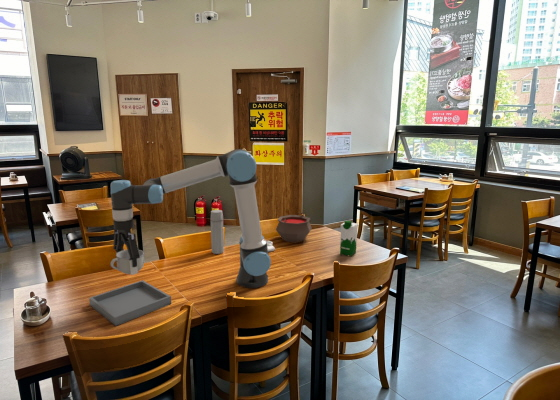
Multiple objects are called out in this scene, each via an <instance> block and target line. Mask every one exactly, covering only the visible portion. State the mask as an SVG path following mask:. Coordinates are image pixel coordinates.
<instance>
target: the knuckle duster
mask: <svg viewBox="0 0 560 400" xmlns="http://www.w3.org/2000/svg"><path fill="white" fill-rule="evenodd" d="M266 242H267V248H268V253H269V252H274V251H275V250H276V248H275V246H273V241H271V240H266Z"/></svg>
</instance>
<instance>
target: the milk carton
mask: <svg viewBox="0 0 560 400" xmlns="http://www.w3.org/2000/svg"><path fill="white" fill-rule="evenodd" d="M358 226H359V224H358V223H357V222H356V223H355V222H352V220H344V222H343V223H341V224H340V245H339V249H340V250H339V252H340V253H339V254H340V255H342V254H343V256H347V255H349V256H348V257H352V256H354V255H355V254H356V253H357V243H358V242H357V241H358V240H357V239H358V238H357V237H358ZM354 253H355V254H354ZM353 254H354V255H353Z"/></svg>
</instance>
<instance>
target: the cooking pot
mask: <svg viewBox="0 0 560 400" xmlns="http://www.w3.org/2000/svg"><path fill="white" fill-rule="evenodd" d="M310 220H311V217H308V216H306V215H305V213H304V212H303V211H302V212H301V213H300V215H299V214H298V215H297V214H287V215H283V216H279V217H278V218H277V221H278V224H277V226H276V227H275V228H276V229H275V231H276V232H277V233H278V234H279V236H280V237H281V239H282V240H283V241H285V242H286V243H295V242H296V243H300V241H301V242H303V241H305V239H306V237H307V236H308V235H309V233H310V232H311V231H312V226H311V223H310Z"/></svg>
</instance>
